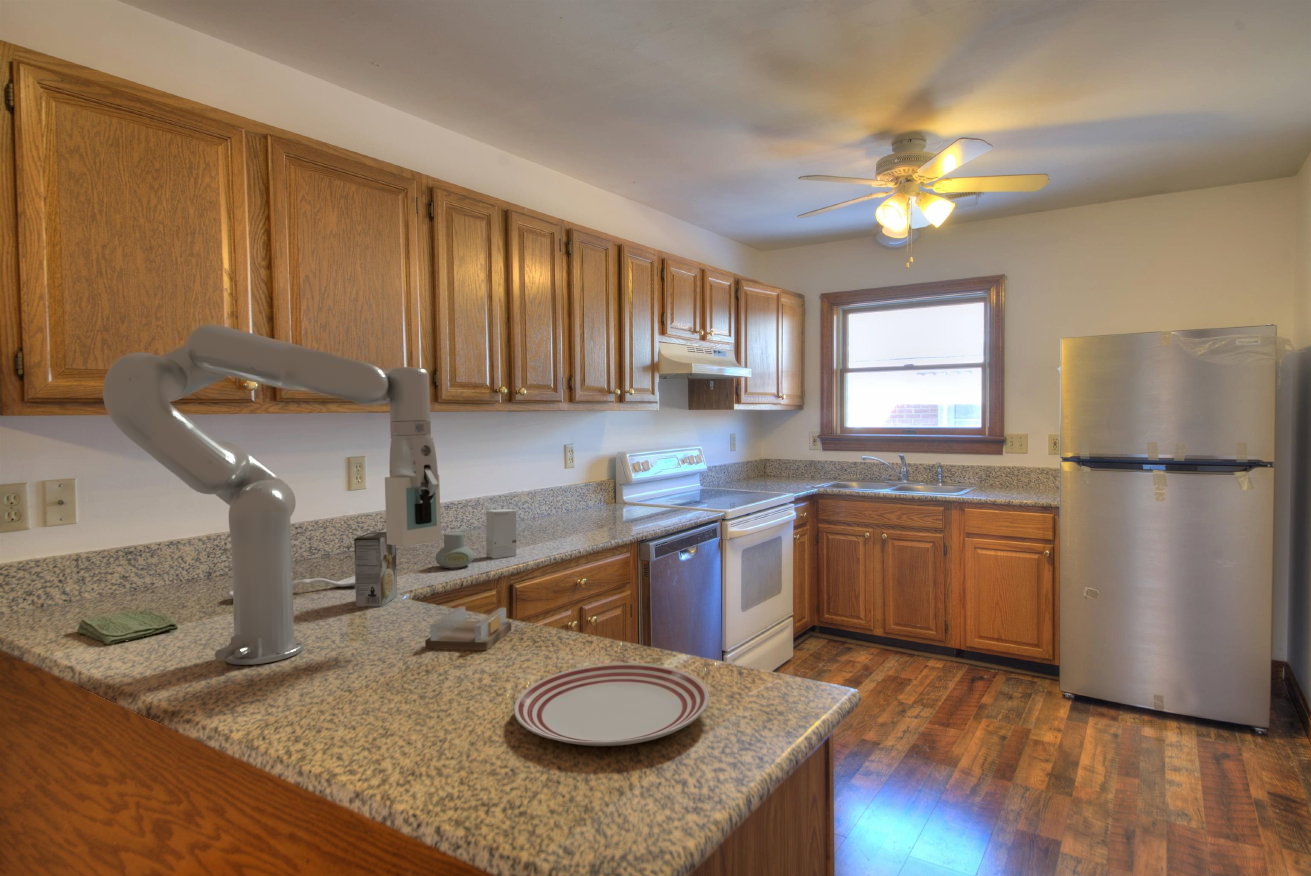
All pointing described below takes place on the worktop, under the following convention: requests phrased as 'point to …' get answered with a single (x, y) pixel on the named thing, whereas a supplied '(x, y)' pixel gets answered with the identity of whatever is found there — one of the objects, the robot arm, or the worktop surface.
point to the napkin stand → (467, 638)
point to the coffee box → (374, 570)
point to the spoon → (342, 583)
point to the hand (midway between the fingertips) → (413, 521)
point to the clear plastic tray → (458, 618)
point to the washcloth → (126, 626)
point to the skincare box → (500, 533)
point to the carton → (409, 514)
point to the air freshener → (454, 551)
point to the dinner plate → (611, 704)
